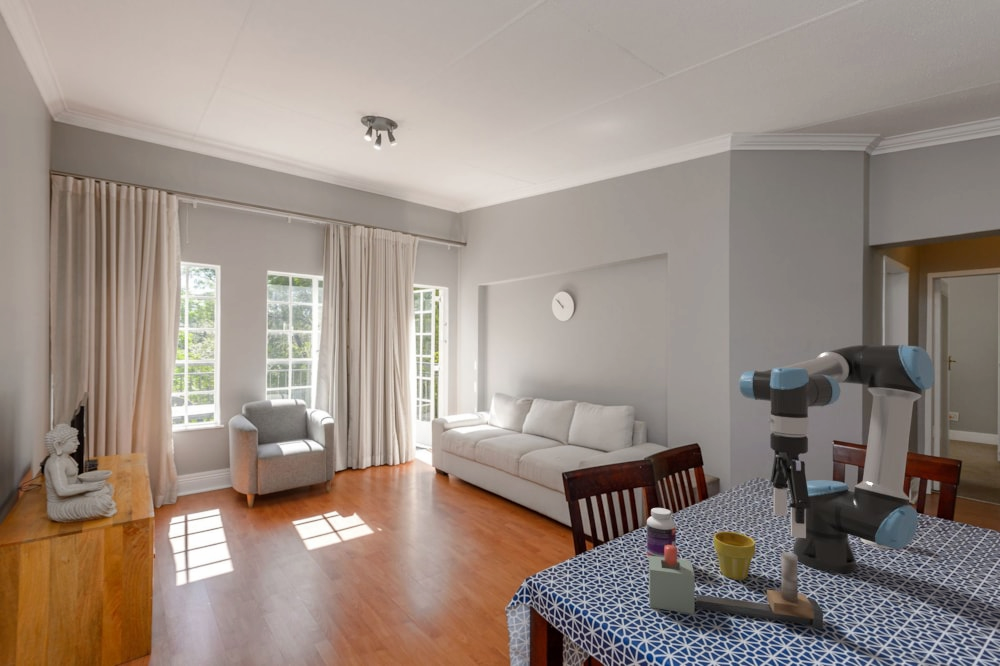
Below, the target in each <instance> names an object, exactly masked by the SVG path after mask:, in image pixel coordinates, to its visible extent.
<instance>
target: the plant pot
mask: <svg viewBox="0 0 1000 666" xmlns="http://www.w3.org/2000/svg"><path fill="white" fill-rule="evenodd" d="M713 548H714V550H715V551H716V555H717V559H718V564H719V569H720V573H721V574H722V575H723V576H725V577H726V578H729V579H733V580H737V581H741V580H745V579H747V578H748V575H749V571H750V566H751V563H752V559H753V558H754V557H755V556H756V542H755V540H754V539H753V538H751V536H747V535H746V534H744V533H739V532H736V531H735V532H734V531H725V530H724V531H718V532H716V533H714V535H713Z"/></svg>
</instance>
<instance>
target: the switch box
mask: <svg viewBox="0 0 1000 666" xmlns="http://www.w3.org/2000/svg"><path fill="white" fill-rule="evenodd" d="M695 577H696V576H695V571H694V568H693V565H692V561H691V560H688V559H680V558H677V566H675V567H671V566H667V565H666V564H665V563H664V557H657V556H649V559H648V597H649V598H648V599H649V600H648V601H649V608H652V609H658V610H666V611H671V612H677V613H678V612H680V613H686V614H692V615H694V614H695V604H696V594H695V588H696V587H695V586H696V585H695Z"/></svg>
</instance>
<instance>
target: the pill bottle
mask: <svg viewBox="0 0 1000 666" xmlns="http://www.w3.org/2000/svg"><path fill="white" fill-rule="evenodd" d="M650 515H651V516H649V517H648V518H647V520H646V558H647V560H649V556H657V557H664V546H665V545H673V546H676V547H677V545H676V542H677V541H676V540H677V538H676V531H677V529H676V528H677V525H676V522H675V520H674V519H672V511H671V510H669V509H666V508H663V507H653V508H651V510H650Z"/></svg>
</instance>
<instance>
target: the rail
mask: <svg viewBox="0 0 1000 666" xmlns="http://www.w3.org/2000/svg"><path fill="white" fill-rule="evenodd" d="M807 599H808V600H809V602H810V603H811V605H812V606H813V608H814V619H811V618H804V617H797V616H790V615H783V614H776V613H773V611H772V609H771V607H770V605H769V603H763V602H755V601H748V600H740V599H734V598H733V599H732V598H727V597H726V598H725V597H719V596H712V595H711V596H710V595H704V594H697V593H696V594H695V604H696V607H697V610H703V611H708V612H717V613H723V614H730V615H736V616H743V617H750V618H751V617H752V618H757V619H765V620H771V621H778V622H784V623H793V624H800V625H806V626H811V627H812V629H817V630H824V610H823V609H822V607H821V606H820V604H819V603H818V602H817V601H816V599H812V598H807Z"/></svg>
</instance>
